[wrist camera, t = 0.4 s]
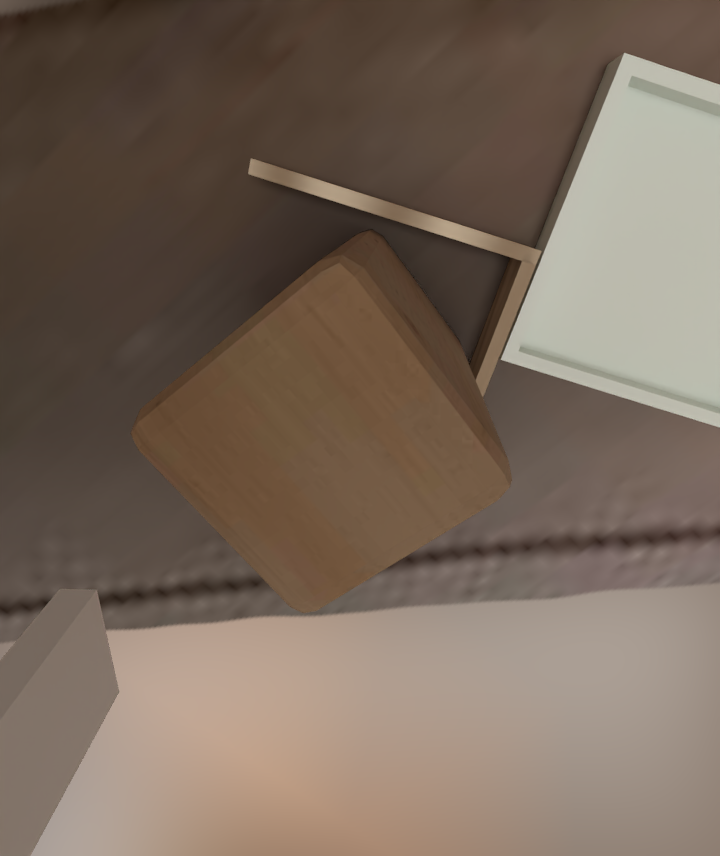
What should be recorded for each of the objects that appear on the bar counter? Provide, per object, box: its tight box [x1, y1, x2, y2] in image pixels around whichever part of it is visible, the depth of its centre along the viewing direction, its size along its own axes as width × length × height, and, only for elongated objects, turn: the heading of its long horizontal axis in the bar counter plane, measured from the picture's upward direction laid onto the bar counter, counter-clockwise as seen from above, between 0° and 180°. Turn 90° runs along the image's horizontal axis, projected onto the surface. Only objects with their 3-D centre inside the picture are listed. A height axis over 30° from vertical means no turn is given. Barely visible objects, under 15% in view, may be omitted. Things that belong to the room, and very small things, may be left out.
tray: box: [499, 53, 720, 427], centre depth 33 cm, size 17×17×2 cm
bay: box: [248, 159, 541, 398], centre depth 36 cm, size 17×17×4 cm
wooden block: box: [131, 229, 512, 613], centre depth 28 cm, size 10×10×20 cm
